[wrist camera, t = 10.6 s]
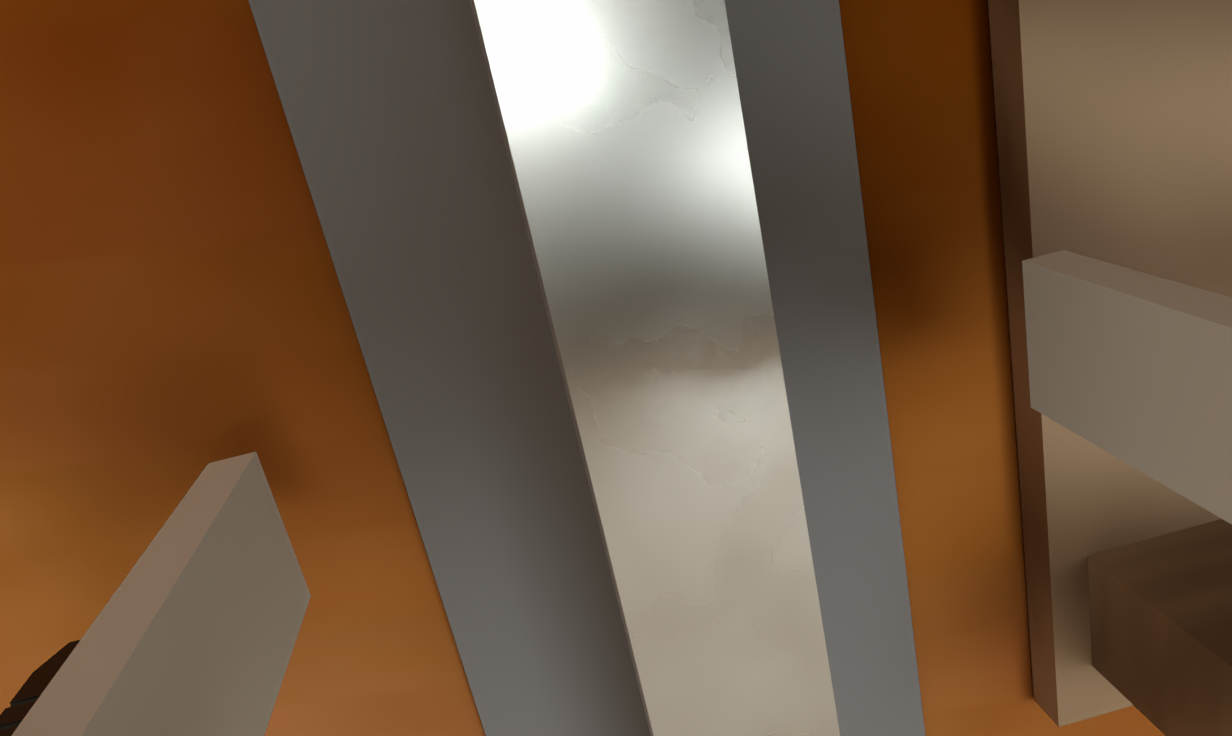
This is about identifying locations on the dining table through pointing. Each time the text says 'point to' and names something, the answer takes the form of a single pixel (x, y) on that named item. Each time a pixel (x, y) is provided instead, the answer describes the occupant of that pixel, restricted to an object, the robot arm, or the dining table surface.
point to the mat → (528, 365)
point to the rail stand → (1146, 242)
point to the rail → (667, 350)
